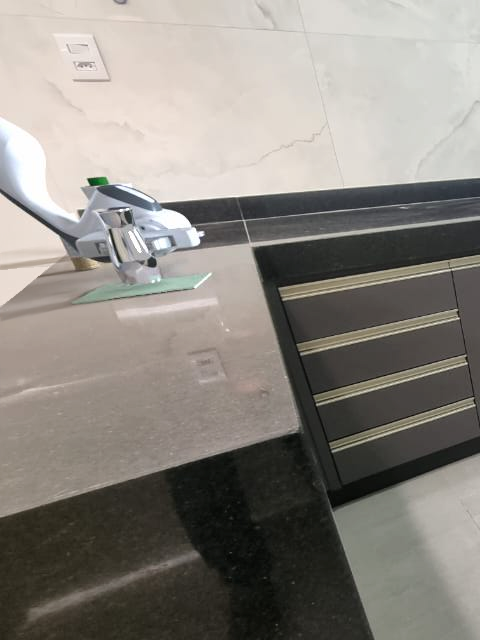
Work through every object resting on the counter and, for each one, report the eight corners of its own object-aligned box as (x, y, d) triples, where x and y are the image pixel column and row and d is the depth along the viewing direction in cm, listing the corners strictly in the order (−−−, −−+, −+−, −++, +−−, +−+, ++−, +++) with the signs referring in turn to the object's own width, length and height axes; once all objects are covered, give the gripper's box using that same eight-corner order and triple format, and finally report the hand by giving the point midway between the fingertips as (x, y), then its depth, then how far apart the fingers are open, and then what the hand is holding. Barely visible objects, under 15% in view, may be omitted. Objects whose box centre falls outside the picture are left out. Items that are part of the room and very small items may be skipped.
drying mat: (73, 304, 105) (72, 302, 104) (102, 287, 115) (101, 286, 115) (195, 288, 112) (194, 286, 111) (211, 274, 122) (210, 272, 122)
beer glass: (82, 210, 105) (116, 283, 111) (96, 212, 102) (130, 287, 108) (126, 205, 110) (156, 275, 117) (140, 207, 107) (170, 278, 114)
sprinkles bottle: (89, 266, 136) (63, 213, 130) (105, 266, 135) (79, 212, 129) (70, 271, 131) (42, 216, 126) (86, 271, 131) (59, 215, 125)
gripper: (211, 245, 126) (194, 257, 114) (102, 256, 118) (72, 270, 107) (201, 218, 123) (183, 227, 112) (89, 228, 116) (57, 239, 104)
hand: (128, 248), depth 109 cm, fingers closed on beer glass, 6 cm apart
